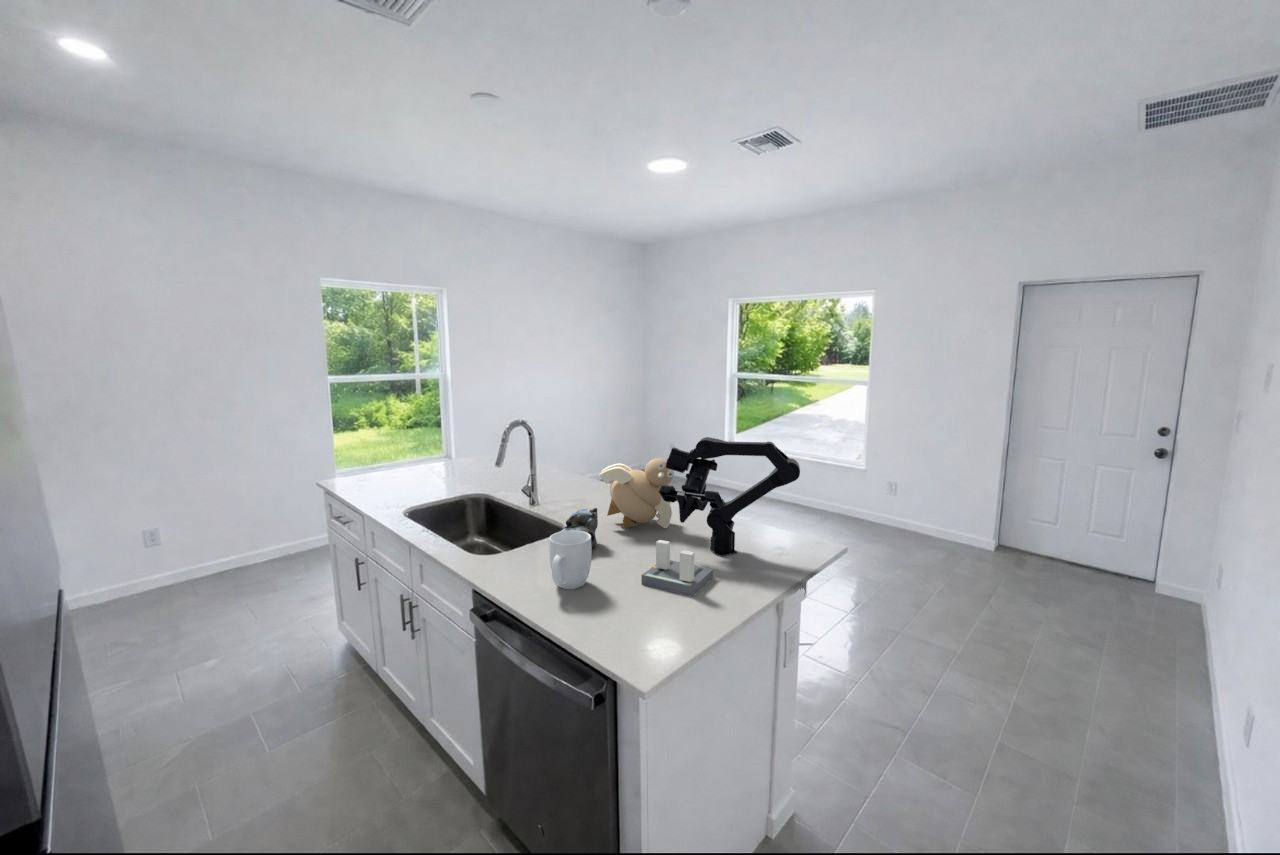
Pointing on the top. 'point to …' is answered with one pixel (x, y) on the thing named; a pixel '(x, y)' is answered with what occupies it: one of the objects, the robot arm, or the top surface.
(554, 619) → the top surface
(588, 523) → the lucky cat figurine
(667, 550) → the block
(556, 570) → the mug
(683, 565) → the block
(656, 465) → the chick figurine
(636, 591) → the top surface
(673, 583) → the breaker panel
